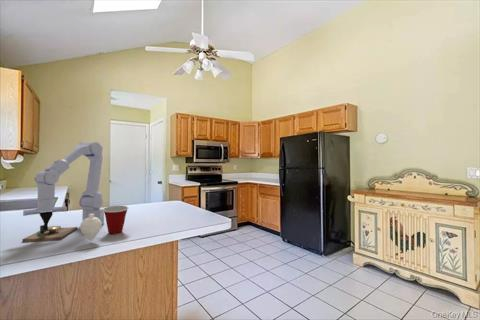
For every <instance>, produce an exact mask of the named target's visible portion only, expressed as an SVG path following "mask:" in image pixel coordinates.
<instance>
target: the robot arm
mask: <svg viewBox="0 0 480 320" xmlns="http://www.w3.org/2000/svg"><path fill="white" fill-rule="evenodd" d="M82 156H83V157H85V158H88V160H89V167H88V174H87V182H86V186H85V187H86V189H85V191H83V192H82V193H81V197H80V198H79V200H78V203H79V204H78V205H79V207H81V210H82V219H81V220H82V221H83V220H84V219H86V218H89V214H94V217H97V218H99V219H100V220H101V222H102V225H103V224H105V213H104V211H103V209H104V208H101V206H102V205H103V202H104V201H103V194H102V192H100V191H99V187H100V180H101V175H102V174H101V173H102V165H103V146H102V145H101V144H100V142H98V141H93V142H92V141H87V142H86V141H81V142H79V143H78V144H76V145H75V148H73V149H72V150H71V151H70V152H69V153H67V155H66V156H64V158H63V159H61V158H60V159H55V160H53V163H52V164H50V165H49V166H48V167H45V168H44V170H42V171H39V172H37V174H36V175H35V177H33V179H34V181H35V183H36V187H37V206H36V207H37V208H33V209H26V210H25V209H24V210H23V211H22V215H23V216H24V217H26V216H33V215H39V216H40V218H41V220H42V222H43V225H44V230H48V227H49V226H48V224H49V221H50V220H51V218H52V217H53V213H58V212H60V213H61V212H67V211H68V207H67V206H55V201H56V199H55V195H56V192H55V189H56V187H55V186H56V183H57V182H58V181H59V178H60V177H61V175H63V174H64V173H66V171H68V169H70V165H71V164H72V163H73V162H74V161H76V160H77V159H78V158H80V157H82ZM82 221H81V222H82ZM78 228H80V226H78Z"/></svg>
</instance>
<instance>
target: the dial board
mask: <svg viewBox="0 0 480 320" xmlns="http://www.w3.org/2000/svg"><path fill="white" fill-rule="evenodd" d="M78 228H79V226H73V227H70V226H69V227H61V228H60V229H58V230H52V231H46V232H44V233H40V230H39V231H37V232H35V233H33V234H31V235H28V236H26V237H24V238H22V239H21V240H22V242H21V243H33V242H50V241H62V240H63V239H65V238H67V237H68V236H69V235H71V234H73V233H74V232H76V231H77V230H78Z"/></svg>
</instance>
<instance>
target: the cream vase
mask: <svg viewBox="0 0 480 320" xmlns="http://www.w3.org/2000/svg"><path fill="white" fill-rule="evenodd" d="M102 225H103V224H102V222H101V220H100V219H99V218H97V217H94V214H89V218H86V219H84V220H83V221H81V223H80V225H79V227H80V231H81V233H82V234H83V235H84V236H85V238H86V239H87V240H89V241H90V243H92V241H93V240H94V239H95V238H96V236H97V235H98V234H99V232H100V230H101V229H102Z"/></svg>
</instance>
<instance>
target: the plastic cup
mask: <svg viewBox="0 0 480 320" xmlns="http://www.w3.org/2000/svg"><path fill="white" fill-rule="evenodd" d="M102 209H103V211H104V218H105V222H106V227H107V232H108V235H118V234H122V233H123V230H124V225H125V221H126V214H127V211H128V209H129V207H128V206H126V205H111V206H106V207H104V208H102Z"/></svg>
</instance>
